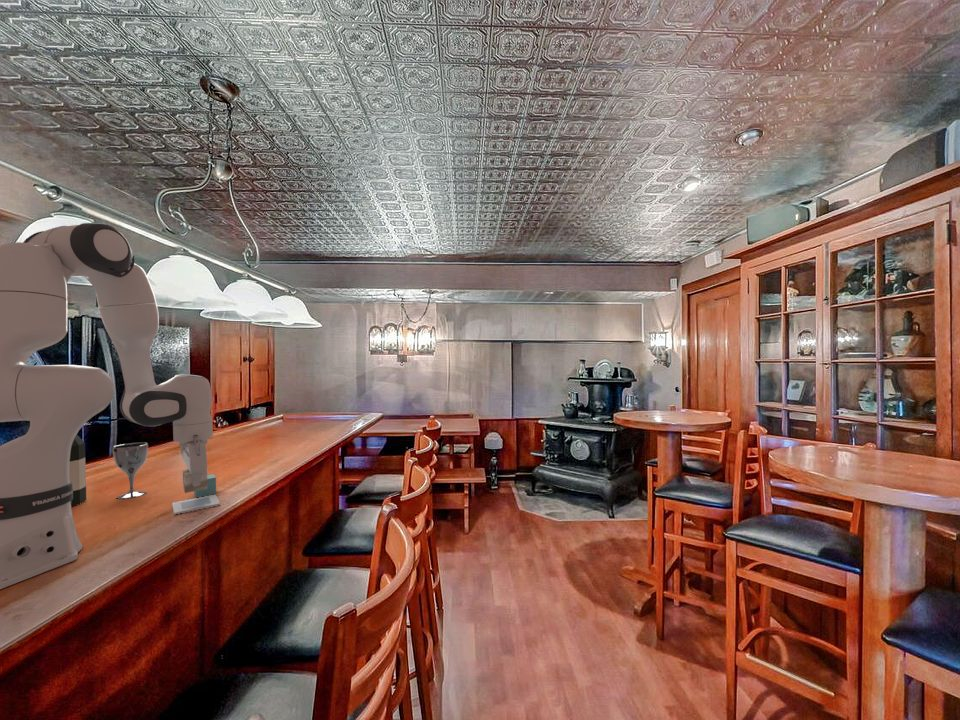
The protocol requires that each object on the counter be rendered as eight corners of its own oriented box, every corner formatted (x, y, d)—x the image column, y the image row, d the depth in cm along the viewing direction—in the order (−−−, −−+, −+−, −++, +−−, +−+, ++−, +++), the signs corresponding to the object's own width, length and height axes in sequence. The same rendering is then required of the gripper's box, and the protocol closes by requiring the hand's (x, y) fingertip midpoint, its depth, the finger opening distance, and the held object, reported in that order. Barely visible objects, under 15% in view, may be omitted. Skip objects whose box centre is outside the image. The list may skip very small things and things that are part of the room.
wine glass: (156, 491, 123) (154, 442, 123) (130, 500, 115) (128, 448, 115) (133, 490, 124) (132, 442, 124) (106, 499, 116) (105, 447, 116)
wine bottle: (64, 509, 108) (61, 399, 108) (34, 510, 109) (31, 400, 109) (94, 499, 117) (92, 396, 117) (66, 499, 117) (64, 397, 117)
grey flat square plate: (220, 505, 109) (220, 503, 109) (173, 515, 102) (173, 512, 102) (215, 496, 116) (215, 494, 116) (172, 504, 110) (172, 502, 110)
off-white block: (207, 488, 110) (207, 470, 110) (185, 493, 107) (184, 474, 107) (204, 484, 114) (204, 466, 114) (183, 488, 110) (182, 470, 110)
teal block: (216, 494, 119) (215, 477, 119) (195, 498, 116) (195, 481, 116) (214, 490, 123) (213, 474, 123) (194, 494, 119) (193, 477, 119)
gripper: (213, 436, 104) (214, 489, 104) (202, 426, 119) (203, 472, 120) (183, 440, 100) (184, 495, 100) (175, 429, 115) (177, 477, 116)
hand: (194, 482), depth 110 cm, fingers closed on off-white block, 5 cm apart
